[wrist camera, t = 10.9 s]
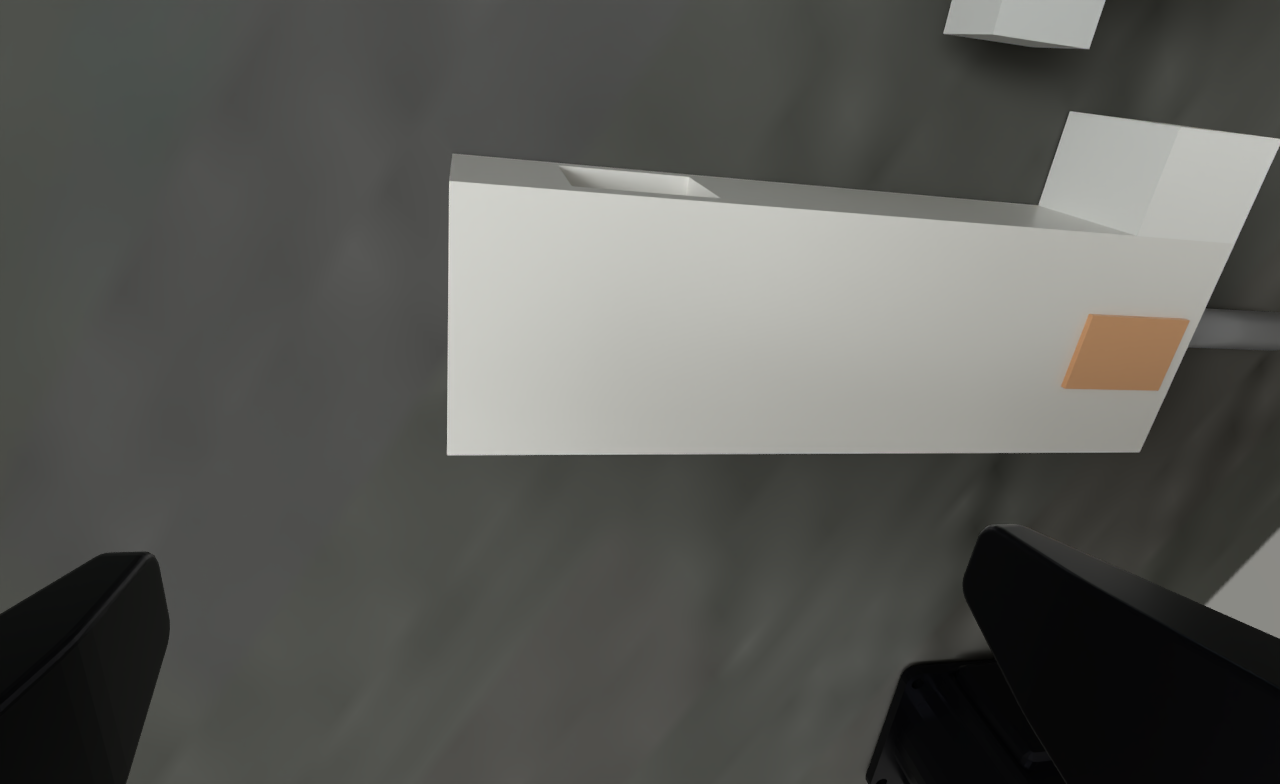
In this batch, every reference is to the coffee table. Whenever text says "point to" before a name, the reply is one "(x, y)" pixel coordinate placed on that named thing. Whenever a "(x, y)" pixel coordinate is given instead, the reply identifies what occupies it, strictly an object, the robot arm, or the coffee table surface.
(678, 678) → the coffee table surface
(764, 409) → the power strip
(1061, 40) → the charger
